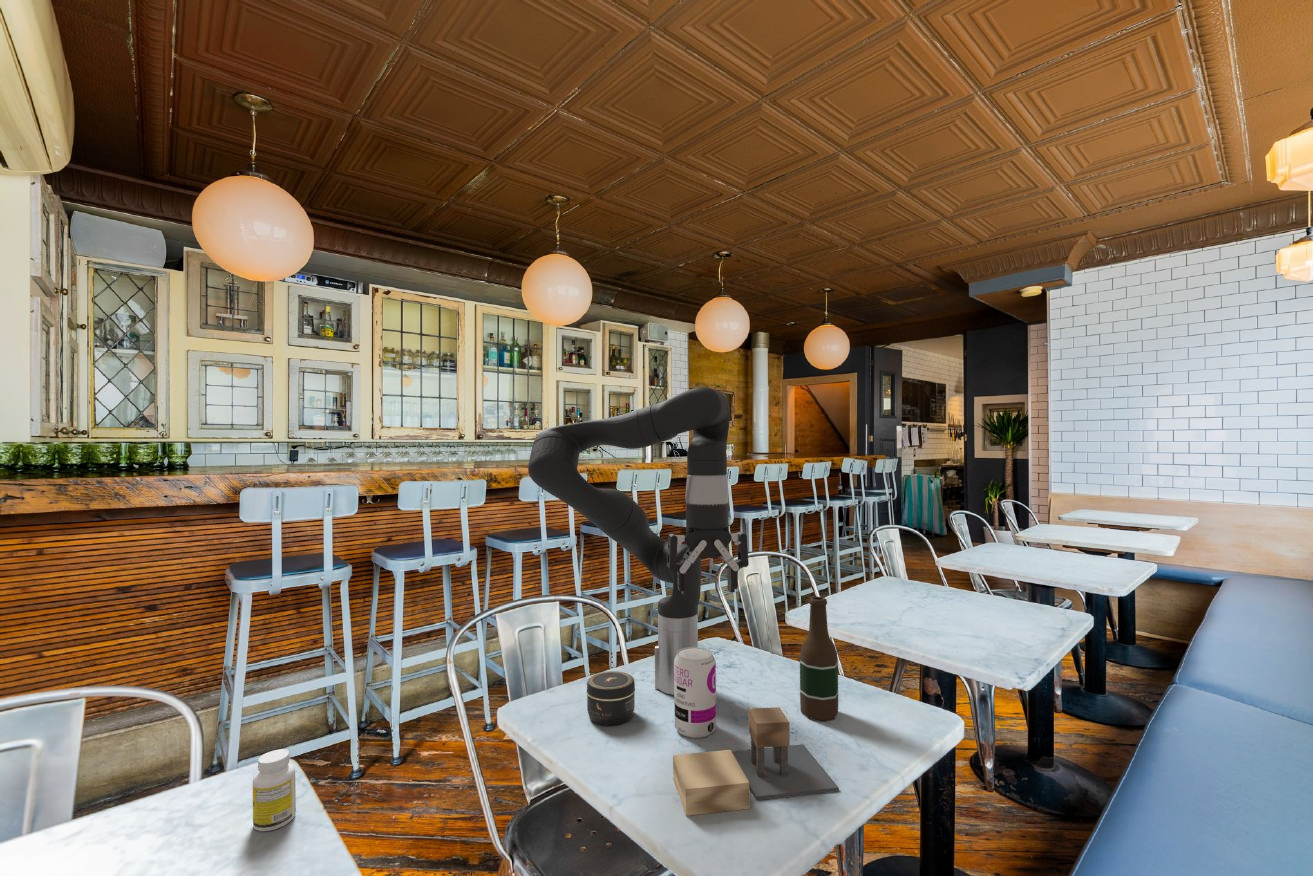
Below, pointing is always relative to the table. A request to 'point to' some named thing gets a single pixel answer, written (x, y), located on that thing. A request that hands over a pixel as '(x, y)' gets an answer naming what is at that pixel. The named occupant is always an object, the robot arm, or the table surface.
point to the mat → (800, 778)
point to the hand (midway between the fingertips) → (707, 592)
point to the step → (710, 782)
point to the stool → (769, 737)
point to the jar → (610, 698)
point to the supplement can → (695, 692)
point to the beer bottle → (818, 667)
